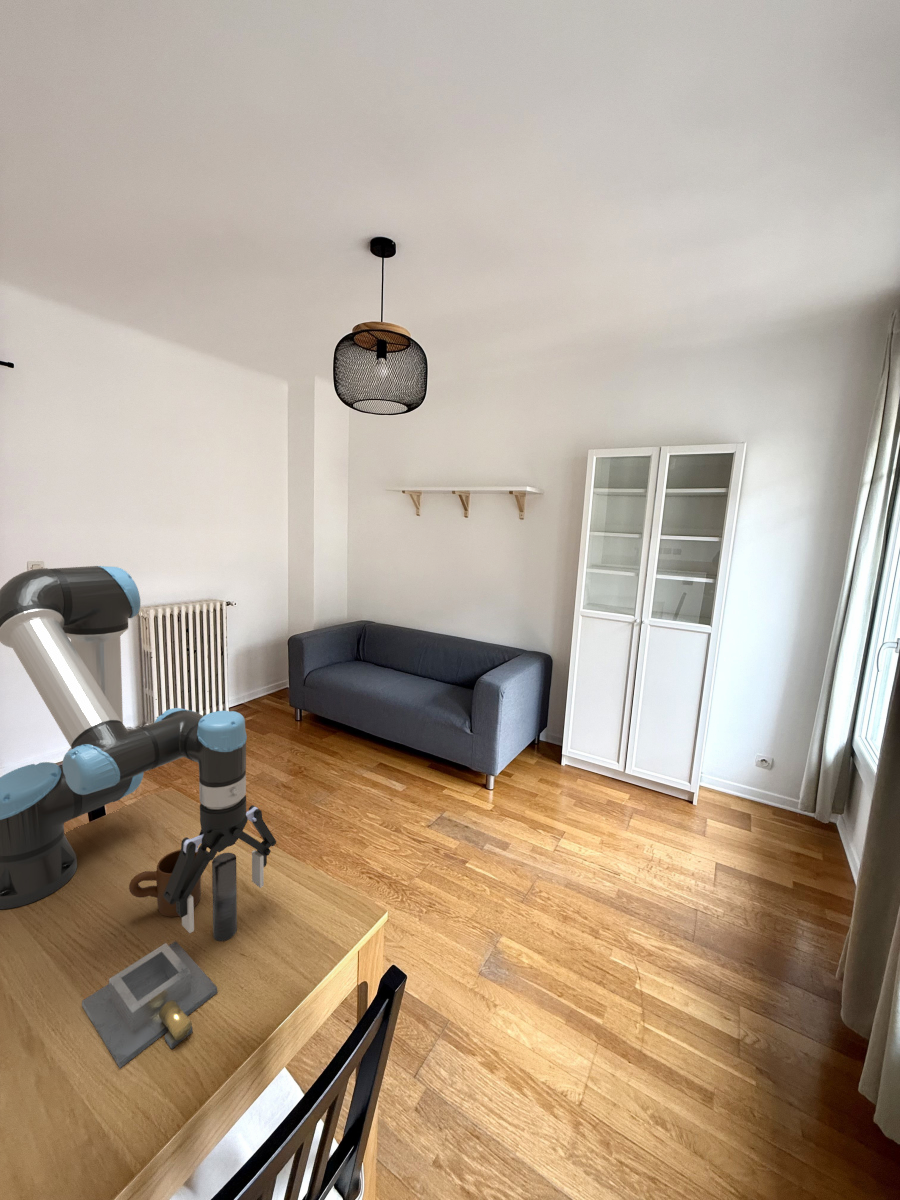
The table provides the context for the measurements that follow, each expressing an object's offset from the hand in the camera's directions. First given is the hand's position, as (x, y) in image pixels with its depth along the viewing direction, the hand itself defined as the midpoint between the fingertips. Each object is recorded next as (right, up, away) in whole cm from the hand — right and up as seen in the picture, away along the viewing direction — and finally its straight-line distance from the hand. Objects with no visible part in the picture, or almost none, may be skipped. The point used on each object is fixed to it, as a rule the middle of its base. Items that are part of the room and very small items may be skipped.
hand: (225, 904), depth 88 cm
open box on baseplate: (-5, -8, -13) cm, 16 cm away
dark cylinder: (0, -6, +1) cm, 6 cm away
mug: (-14, -4, +6) cm, 16 cm away
